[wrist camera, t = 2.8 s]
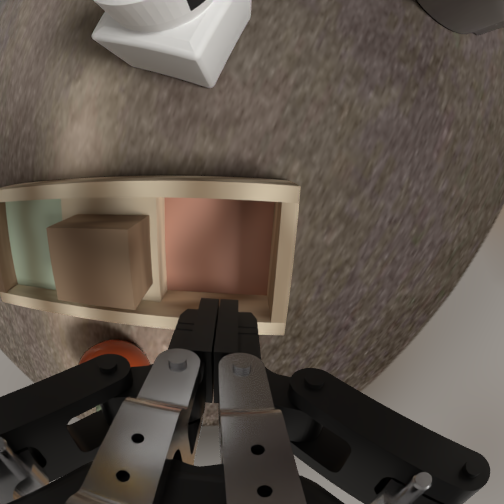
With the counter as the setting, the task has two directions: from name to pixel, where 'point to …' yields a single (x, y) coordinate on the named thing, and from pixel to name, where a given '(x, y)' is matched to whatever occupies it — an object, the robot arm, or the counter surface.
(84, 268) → the walnut block
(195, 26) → the medicine bottle
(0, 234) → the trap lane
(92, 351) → the tomato
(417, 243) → the counter surface
